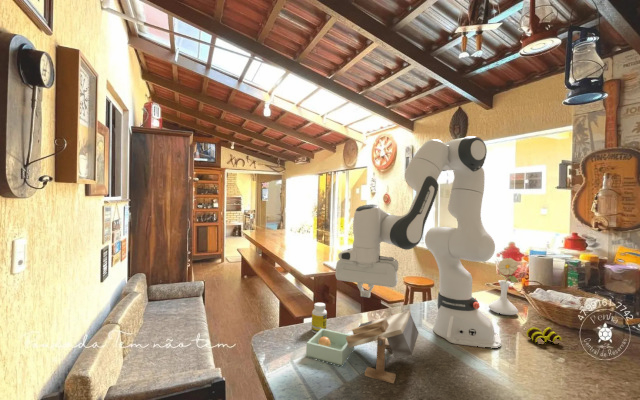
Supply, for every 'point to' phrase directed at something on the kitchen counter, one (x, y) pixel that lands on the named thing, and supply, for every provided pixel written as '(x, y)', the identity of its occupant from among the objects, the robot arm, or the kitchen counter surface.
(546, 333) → the yellow black striped piece
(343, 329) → the kitchen counter surface
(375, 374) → the lever stand
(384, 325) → the lever
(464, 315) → the robot arm
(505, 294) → the flower in vase
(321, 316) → the supplement bottle
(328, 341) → the ball
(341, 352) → the green square tray
